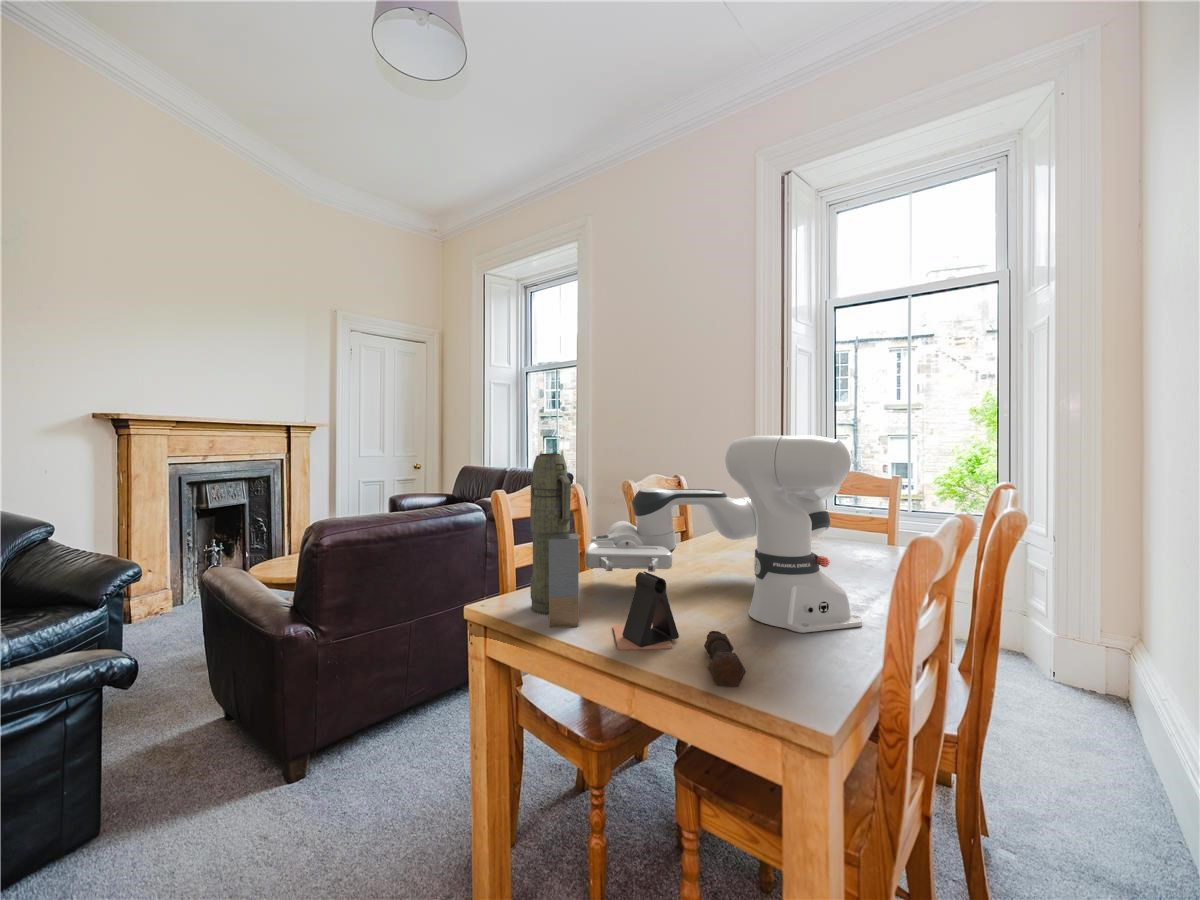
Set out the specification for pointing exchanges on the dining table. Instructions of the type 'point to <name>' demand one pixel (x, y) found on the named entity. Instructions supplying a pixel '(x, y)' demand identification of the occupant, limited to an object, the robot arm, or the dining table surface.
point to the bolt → (723, 661)
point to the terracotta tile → (627, 644)
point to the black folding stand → (650, 613)
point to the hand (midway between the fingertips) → (630, 568)
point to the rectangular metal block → (563, 580)
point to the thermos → (547, 520)
